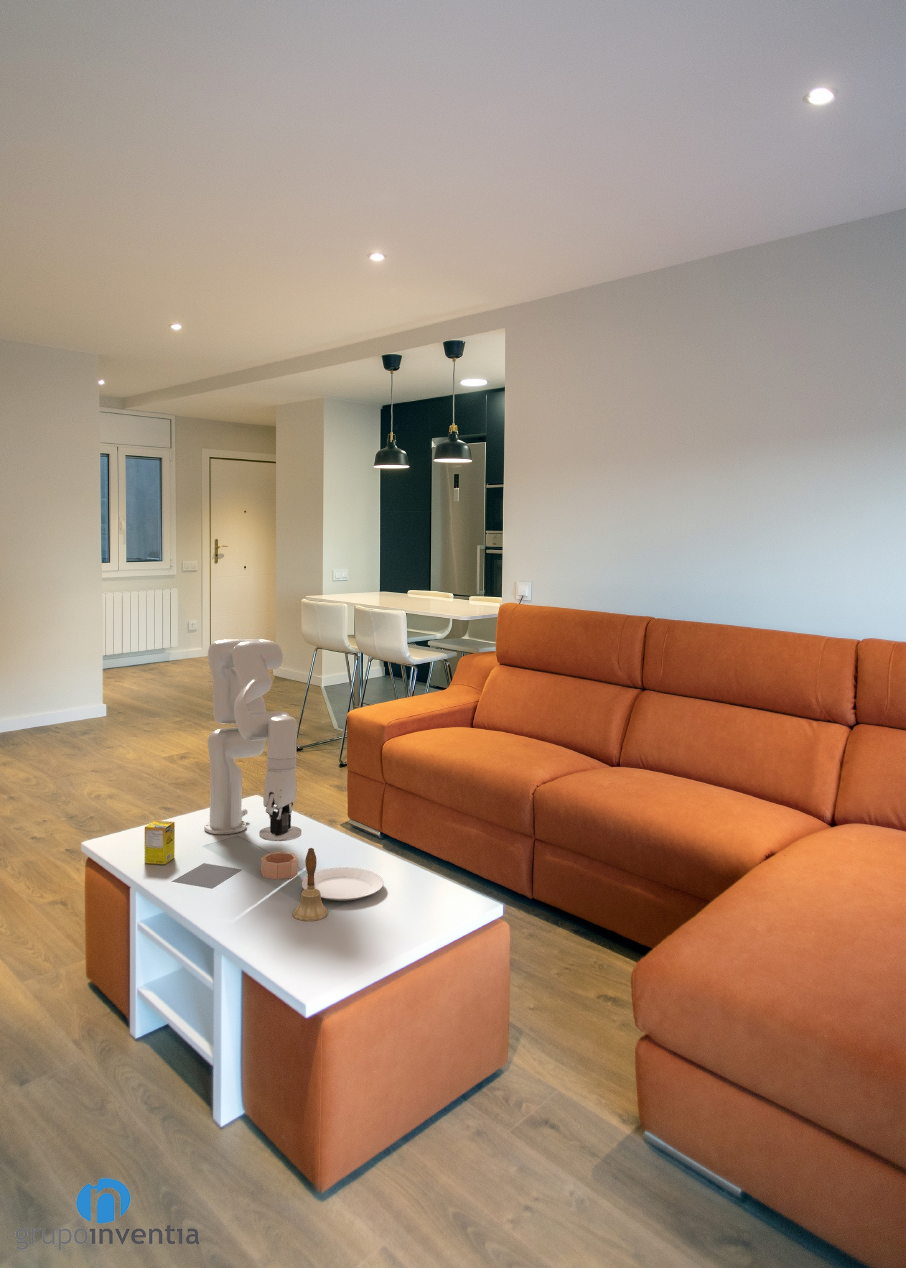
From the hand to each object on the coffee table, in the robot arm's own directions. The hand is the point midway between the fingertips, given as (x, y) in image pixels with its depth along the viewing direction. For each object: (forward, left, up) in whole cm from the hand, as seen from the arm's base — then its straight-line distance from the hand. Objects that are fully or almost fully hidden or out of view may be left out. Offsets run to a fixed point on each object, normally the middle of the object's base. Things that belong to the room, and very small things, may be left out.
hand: (280, 830), depth 214 cm
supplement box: (+5, -34, -12) cm, 37 cm away
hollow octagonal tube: (0, 0, -12) cm, 12 cm away
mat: (+9, -16, -12) cm, 22 cm away
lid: (0, 0, -1) cm, 1 cm away
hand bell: (+19, +19, -12) cm, 29 cm away
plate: (+3, +20, -13) cm, 24 cm away
